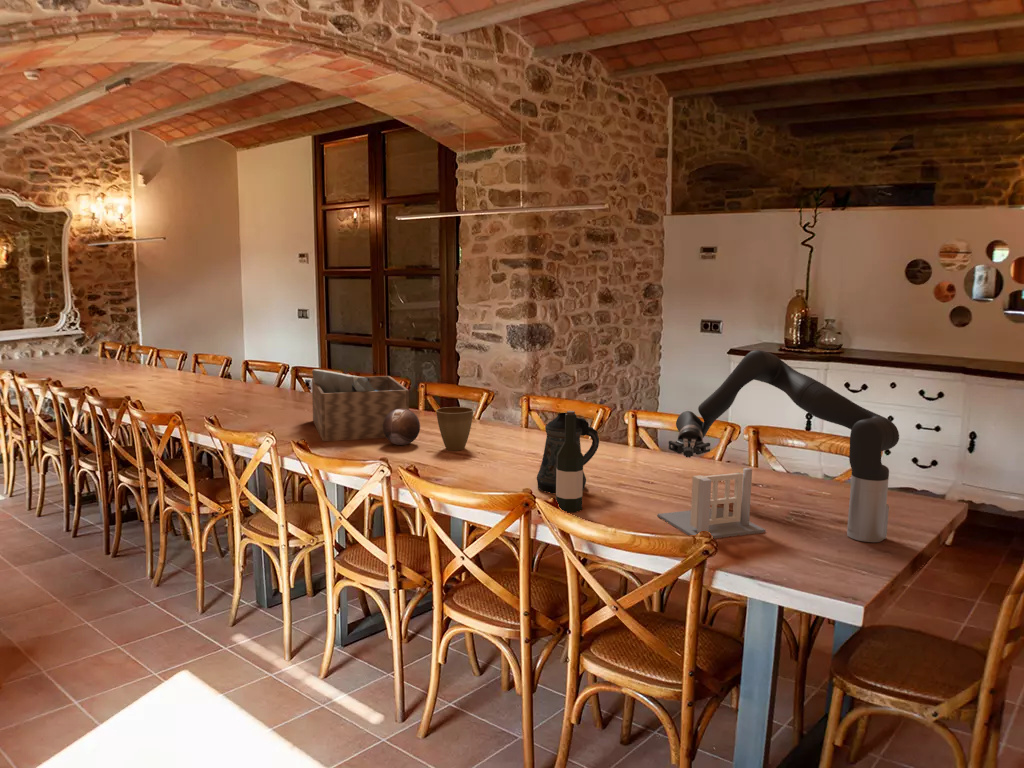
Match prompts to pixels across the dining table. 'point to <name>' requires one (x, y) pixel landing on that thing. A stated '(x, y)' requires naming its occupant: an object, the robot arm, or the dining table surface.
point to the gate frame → (704, 514)
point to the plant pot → (455, 426)
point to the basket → (340, 382)
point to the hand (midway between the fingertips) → (688, 454)
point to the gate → (714, 501)
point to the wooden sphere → (401, 426)
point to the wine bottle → (569, 469)
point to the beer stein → (554, 443)
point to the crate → (357, 410)
